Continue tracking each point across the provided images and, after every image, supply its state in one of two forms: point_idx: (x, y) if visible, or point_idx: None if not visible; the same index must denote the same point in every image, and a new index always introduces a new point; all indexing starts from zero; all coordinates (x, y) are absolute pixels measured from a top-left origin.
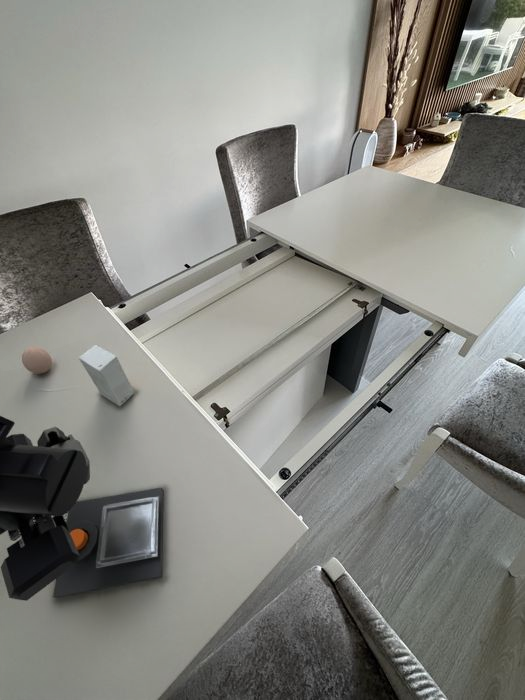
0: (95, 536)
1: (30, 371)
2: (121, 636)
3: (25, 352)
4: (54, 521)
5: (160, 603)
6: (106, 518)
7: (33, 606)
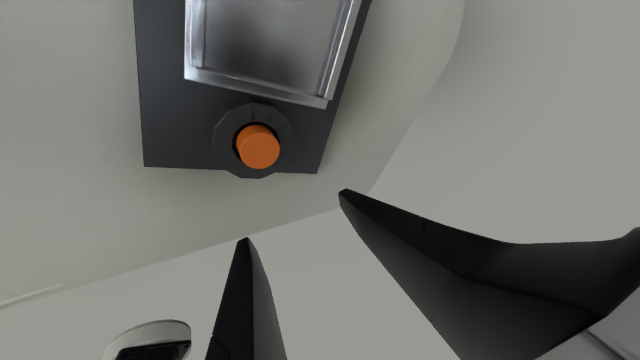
0: (261, 108)
1: None
2: (392, 81)
3: None
4: (624, 328)
5: (395, 3)
6: (230, 74)
7: (305, 193)
